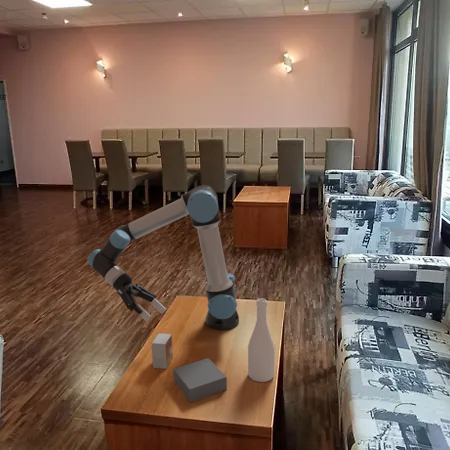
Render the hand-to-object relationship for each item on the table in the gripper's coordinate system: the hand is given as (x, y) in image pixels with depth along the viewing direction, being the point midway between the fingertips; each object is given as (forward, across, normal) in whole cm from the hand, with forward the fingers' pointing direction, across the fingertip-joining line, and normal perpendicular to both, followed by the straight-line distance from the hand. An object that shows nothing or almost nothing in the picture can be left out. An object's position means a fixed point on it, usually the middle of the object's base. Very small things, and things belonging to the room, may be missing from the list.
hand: (156, 314), depth 176 cm
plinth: (+31, +10, -3) cm, 33 cm away
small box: (+14, +2, -12) cm, 19 cm away
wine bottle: (+45, -1, +10) cm, 46 cm away
